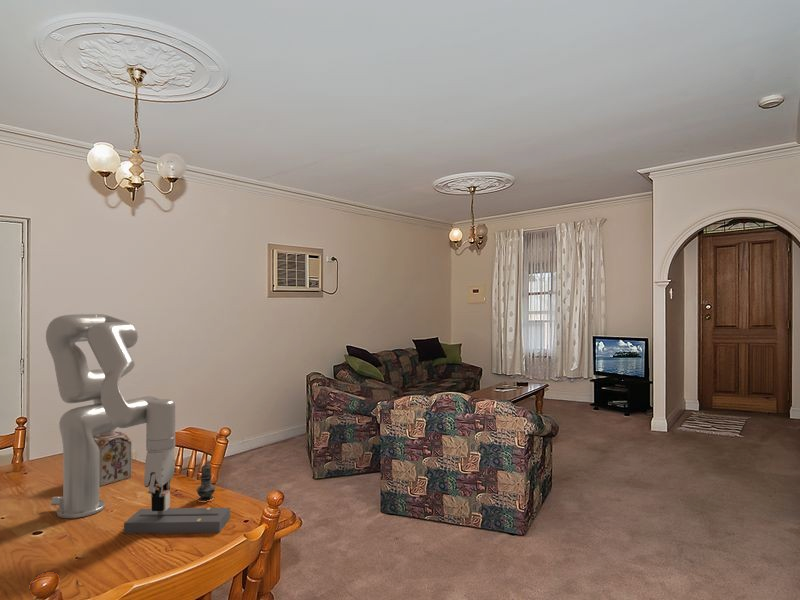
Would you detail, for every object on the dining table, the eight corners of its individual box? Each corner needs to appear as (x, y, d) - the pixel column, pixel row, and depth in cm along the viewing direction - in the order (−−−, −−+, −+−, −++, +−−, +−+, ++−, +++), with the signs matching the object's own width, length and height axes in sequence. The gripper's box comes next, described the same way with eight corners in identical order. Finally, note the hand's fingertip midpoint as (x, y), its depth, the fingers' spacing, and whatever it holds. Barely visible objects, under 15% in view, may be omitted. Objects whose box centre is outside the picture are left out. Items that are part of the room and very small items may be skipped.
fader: (151, 516, 148) (151, 494, 148) (155, 512, 151) (155, 490, 151) (165, 516, 148) (165, 493, 148) (169, 512, 151) (169, 490, 151)
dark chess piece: (209, 503, 166) (209, 465, 166) (192, 502, 167) (192, 464, 167) (219, 496, 172) (219, 460, 172) (202, 495, 173) (203, 459, 173)
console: (124, 533, 144) (124, 522, 144) (140, 519, 154) (140, 508, 154) (219, 532, 145) (219, 520, 145) (230, 517, 155) (230, 506, 155)
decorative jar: (82, 481, 187) (82, 430, 187) (114, 472, 197) (114, 424, 197) (100, 487, 181) (100, 434, 181) (132, 477, 191) (133, 428, 191)
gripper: (159, 436, 158) (159, 497, 157) (134, 451, 141) (133, 520, 141) (185, 436, 158) (184, 497, 158) (162, 451, 141) (161, 519, 141)
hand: (160, 507), depth 149 cm, fingers closed on fader, 3 cm apart
